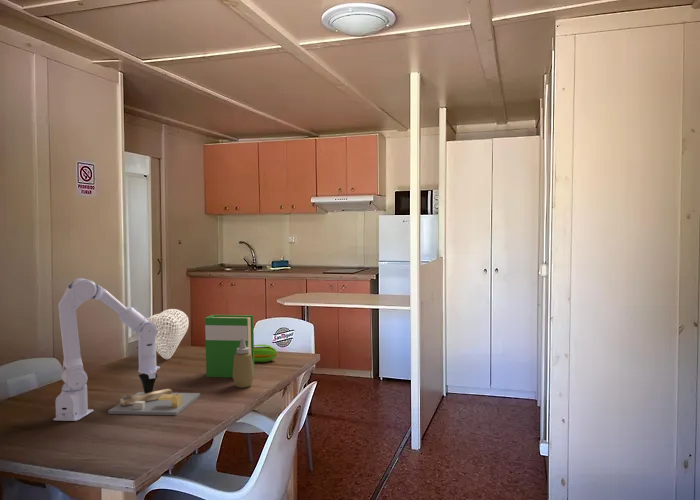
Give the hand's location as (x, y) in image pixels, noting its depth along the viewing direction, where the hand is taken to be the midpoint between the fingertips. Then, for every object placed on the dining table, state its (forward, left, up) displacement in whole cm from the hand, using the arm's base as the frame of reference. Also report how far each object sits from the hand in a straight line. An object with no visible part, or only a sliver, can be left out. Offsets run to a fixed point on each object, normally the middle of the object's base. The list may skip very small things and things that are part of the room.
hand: (148, 394), depth 186 cm
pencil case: (+57, -22, -2) cm, 61 cm away
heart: (+59, +20, -2) cm, 63 cm away
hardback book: (+34, -18, -2) cm, 39 cm away
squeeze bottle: (+19, -28, -2) cm, 34 cm away
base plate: (-4, -4, -2) cm, 6 cm away
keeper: (-8, -11, -1) cm, 14 cm away
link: (-3, -1, -1) cm, 3 cm away
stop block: (-10, -2, -2) cm, 11 cm away
